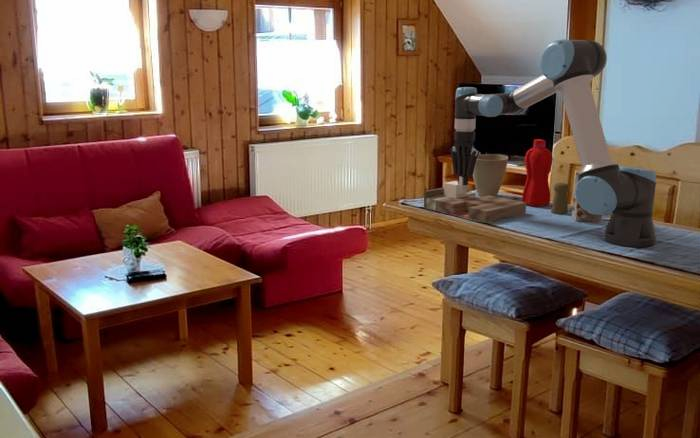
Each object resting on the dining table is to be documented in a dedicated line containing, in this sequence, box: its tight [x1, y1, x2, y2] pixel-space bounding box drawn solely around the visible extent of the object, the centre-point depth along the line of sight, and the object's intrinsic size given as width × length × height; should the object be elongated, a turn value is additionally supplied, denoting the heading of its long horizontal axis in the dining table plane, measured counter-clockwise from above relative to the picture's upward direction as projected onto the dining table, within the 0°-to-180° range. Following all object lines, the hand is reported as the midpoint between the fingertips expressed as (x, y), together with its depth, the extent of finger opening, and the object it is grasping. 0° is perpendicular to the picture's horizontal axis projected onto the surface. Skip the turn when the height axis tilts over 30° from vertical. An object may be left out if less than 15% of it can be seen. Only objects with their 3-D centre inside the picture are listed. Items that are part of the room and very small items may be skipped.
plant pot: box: [472, 153, 509, 197], centre depth 286 cm, size 15×15×16 cm
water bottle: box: [521, 138, 554, 208], centre depth 270 cm, size 9×11×25 cm
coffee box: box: [571, 172, 603, 223], centre depth 247 cm, size 9×6×16 cm
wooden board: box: [423, 187, 527, 224], centre depth 262 cm, size 30×22×6 cm
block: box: [443, 180, 467, 198], centre depth 268 cm, size 6×6×5 cm
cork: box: [550, 182, 570, 216], centre depth 258 cm, size 6×6×11 cm
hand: (462, 193), depth 265 cm, fingers closed
